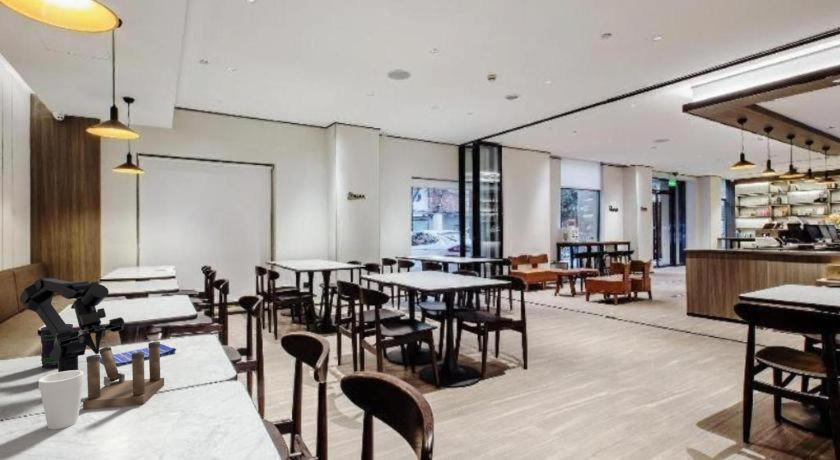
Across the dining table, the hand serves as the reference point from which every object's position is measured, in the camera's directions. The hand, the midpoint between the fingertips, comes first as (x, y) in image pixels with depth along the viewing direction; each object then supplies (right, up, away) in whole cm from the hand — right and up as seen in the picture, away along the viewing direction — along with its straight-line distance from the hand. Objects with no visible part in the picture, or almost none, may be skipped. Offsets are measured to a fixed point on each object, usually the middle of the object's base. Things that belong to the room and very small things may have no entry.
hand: (97, 353), depth 148 cm
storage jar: (-31, -11, +22) cm, 39 cm away
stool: (+17, -10, -11) cm, 23 cm away
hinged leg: (+10, -6, -7) cm, 14 cm away
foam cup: (+13, -11, -30) cm, 34 cm away
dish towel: (-6, -11, +31) cm, 34 cm away
